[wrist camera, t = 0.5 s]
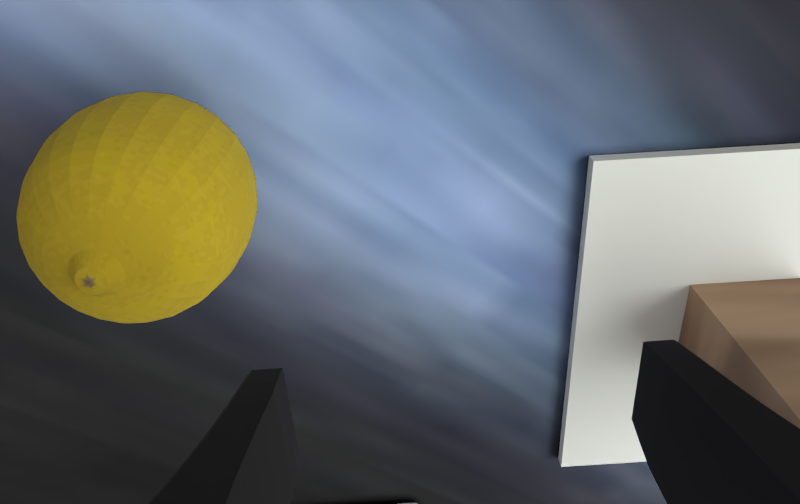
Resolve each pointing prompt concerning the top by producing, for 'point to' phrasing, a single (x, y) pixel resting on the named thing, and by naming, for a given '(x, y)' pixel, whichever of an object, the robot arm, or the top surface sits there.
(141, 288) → the lemon
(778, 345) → the walnut block
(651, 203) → the mat
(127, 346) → the top surface
